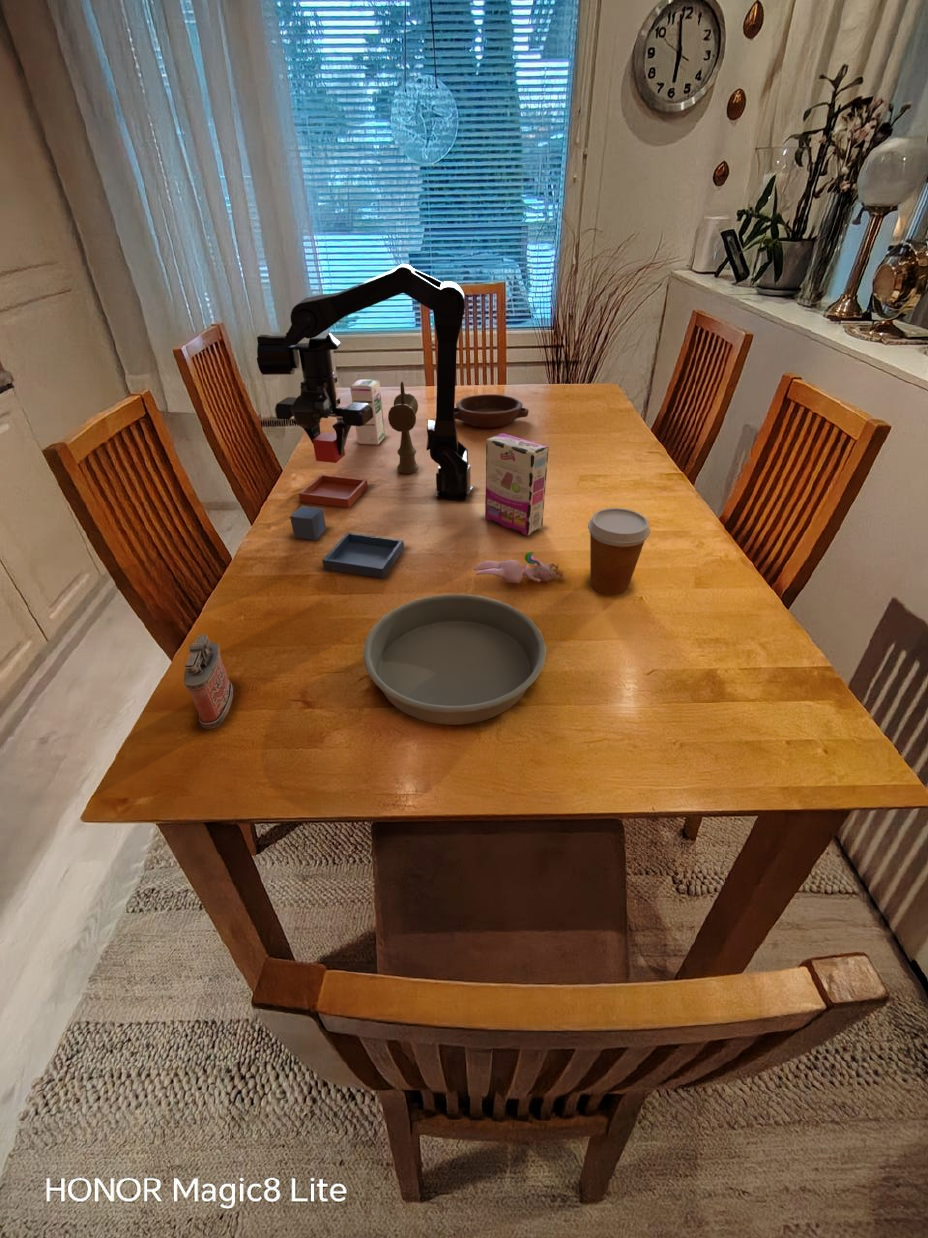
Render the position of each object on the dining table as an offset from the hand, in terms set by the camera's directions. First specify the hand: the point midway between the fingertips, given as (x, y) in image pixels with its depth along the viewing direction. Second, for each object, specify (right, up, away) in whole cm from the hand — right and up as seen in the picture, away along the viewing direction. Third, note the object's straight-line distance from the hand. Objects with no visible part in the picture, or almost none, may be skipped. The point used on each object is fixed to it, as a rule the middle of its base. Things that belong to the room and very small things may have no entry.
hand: (330, 453), depth 121 cm
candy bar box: (+37, -16, -5) cm, 41 cm away
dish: (+34, +21, +43) cm, 59 cm away
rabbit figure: (+37, -28, -21) cm, 51 cm away
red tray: (0, -7, +6) cm, 9 cm away
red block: (0, -1, 0) cm, 1 cm away
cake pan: (+26, -41, -39) cm, 63 cm away
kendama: (+15, 0, +16) cm, 22 cm away
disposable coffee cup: (+52, -29, -22) cm, 63 cm away
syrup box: (+3, +12, +32) cm, 34 cm away
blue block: (-2, -18, -8) cm, 19 cm away
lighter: (-5, -46, -44) cm, 64 cm away
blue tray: (+10, -23, -15) cm, 30 cm away
